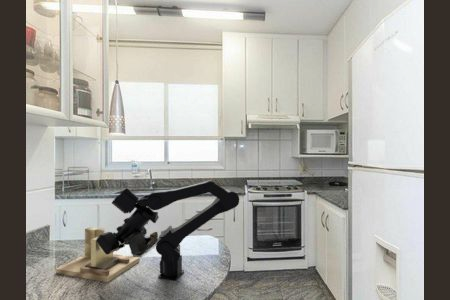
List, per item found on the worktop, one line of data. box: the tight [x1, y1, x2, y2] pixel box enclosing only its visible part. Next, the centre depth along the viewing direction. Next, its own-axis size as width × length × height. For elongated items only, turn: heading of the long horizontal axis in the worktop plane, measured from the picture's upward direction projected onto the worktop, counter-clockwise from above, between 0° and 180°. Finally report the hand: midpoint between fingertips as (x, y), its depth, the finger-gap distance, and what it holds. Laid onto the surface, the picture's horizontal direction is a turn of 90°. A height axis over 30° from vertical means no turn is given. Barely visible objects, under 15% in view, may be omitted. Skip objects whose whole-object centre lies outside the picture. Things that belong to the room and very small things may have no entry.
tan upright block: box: [85, 236, 120, 270], centre depth 87 cm, size 7×12×10 cm, turn 163°
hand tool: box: [134, 231, 159, 256], centre depth 107 cm, size 19×4×5 cm, turn 168°
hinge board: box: [55, 227, 141, 283], centre depth 88 cm, size 22×16×12 cm
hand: (109, 251), depth 84 cm, fingers closed
